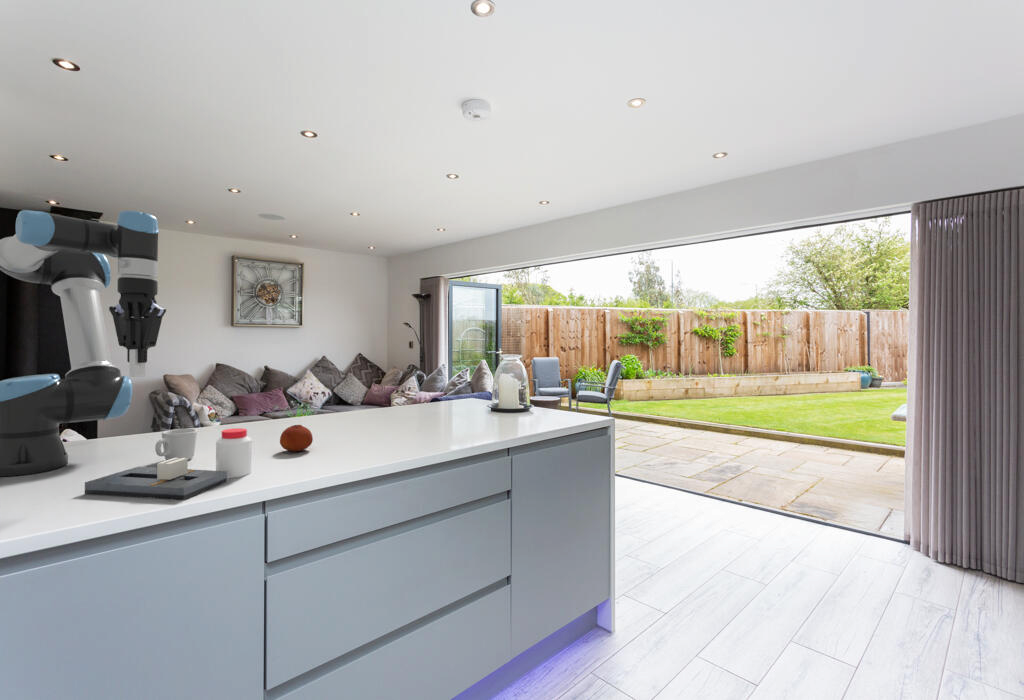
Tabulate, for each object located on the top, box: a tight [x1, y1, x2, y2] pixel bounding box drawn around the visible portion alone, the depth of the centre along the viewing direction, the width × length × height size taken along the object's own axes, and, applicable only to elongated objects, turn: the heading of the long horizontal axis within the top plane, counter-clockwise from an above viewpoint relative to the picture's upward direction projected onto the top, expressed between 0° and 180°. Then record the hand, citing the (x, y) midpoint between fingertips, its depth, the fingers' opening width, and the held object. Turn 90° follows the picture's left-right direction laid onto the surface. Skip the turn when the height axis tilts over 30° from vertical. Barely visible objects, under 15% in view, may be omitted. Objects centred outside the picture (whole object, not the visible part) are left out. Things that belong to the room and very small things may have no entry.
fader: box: [156, 458, 189, 480], centre depth 107 cm, size 4×5×5 cm
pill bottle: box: [215, 427, 253, 479], centre depth 119 cm, size 8×8×11 cm
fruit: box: [279, 424, 314, 453], centre depth 144 cm, size 9×9×8 cm
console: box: [84, 466, 228, 501], centre depth 107 cm, size 23×13×3 cm, turn 84°
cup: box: [154, 428, 198, 461], centre depth 129 cm, size 11×8×8 cm
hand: (137, 376), depth 114 cm, fingers closed
